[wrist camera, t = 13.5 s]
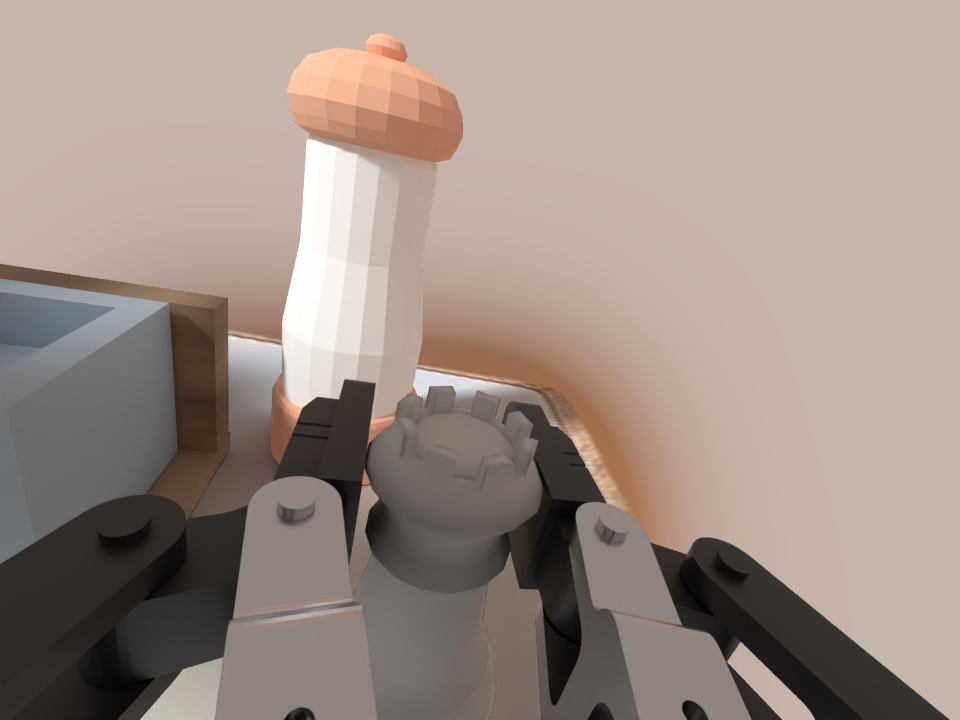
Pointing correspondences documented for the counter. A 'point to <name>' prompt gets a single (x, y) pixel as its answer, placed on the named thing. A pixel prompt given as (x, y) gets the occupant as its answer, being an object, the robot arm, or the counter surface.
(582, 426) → the counter surface
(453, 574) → the rook chess piece
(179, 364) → the board
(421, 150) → the pepper shaker
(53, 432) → the socket block
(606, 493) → the counter surface
